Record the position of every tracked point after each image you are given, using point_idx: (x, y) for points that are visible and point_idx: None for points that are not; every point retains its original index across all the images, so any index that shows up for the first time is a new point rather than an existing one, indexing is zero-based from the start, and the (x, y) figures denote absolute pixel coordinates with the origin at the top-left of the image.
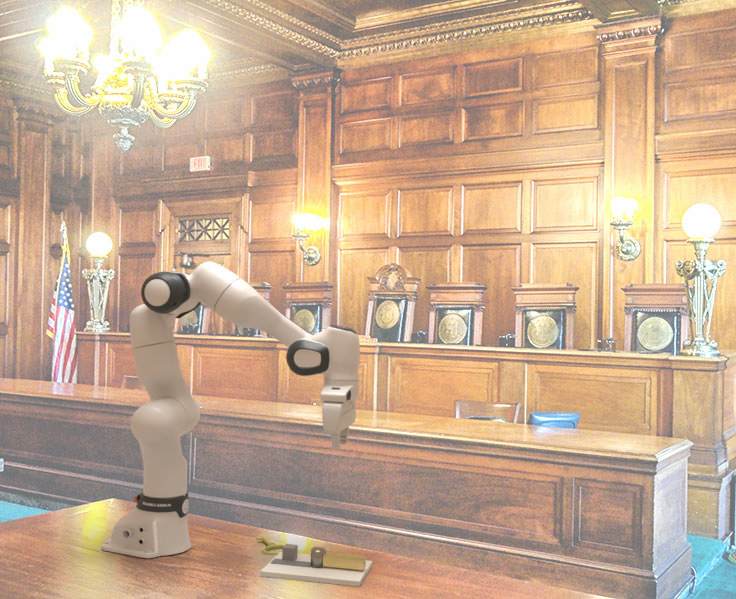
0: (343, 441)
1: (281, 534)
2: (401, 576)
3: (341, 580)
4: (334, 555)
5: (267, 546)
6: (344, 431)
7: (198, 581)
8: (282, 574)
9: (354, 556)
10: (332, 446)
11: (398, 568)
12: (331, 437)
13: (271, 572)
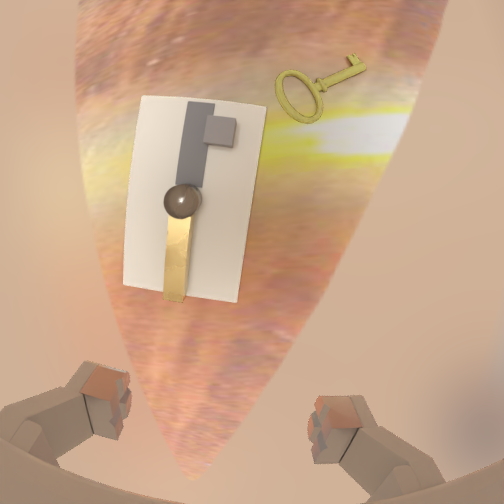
0: (314, 428)
1: (406, 104)
2: (191, 345)
3: (124, 252)
4: (167, 239)
5: (304, 77)
6: (378, 474)
7: (118, 18)
8: (135, 138)
9: (169, 281)
10: (82, 369)
11: (230, 341)
12: (23, 404)
13: (138, 116)
